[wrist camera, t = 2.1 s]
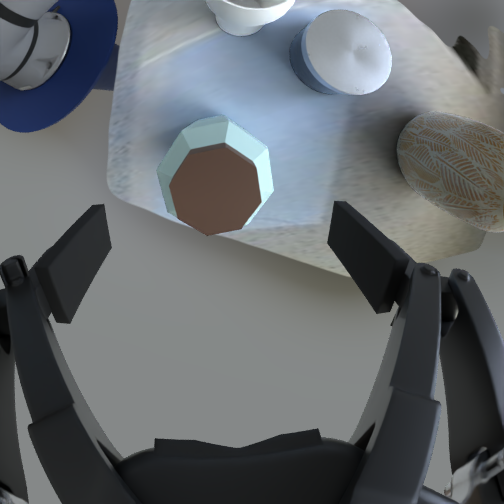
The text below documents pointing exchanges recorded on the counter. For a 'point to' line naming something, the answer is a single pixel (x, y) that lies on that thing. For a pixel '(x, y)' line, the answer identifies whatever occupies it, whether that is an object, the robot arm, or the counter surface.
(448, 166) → the vase
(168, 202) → the water bottle
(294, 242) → the counter surface
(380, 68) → the navy round container
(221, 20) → the cup
